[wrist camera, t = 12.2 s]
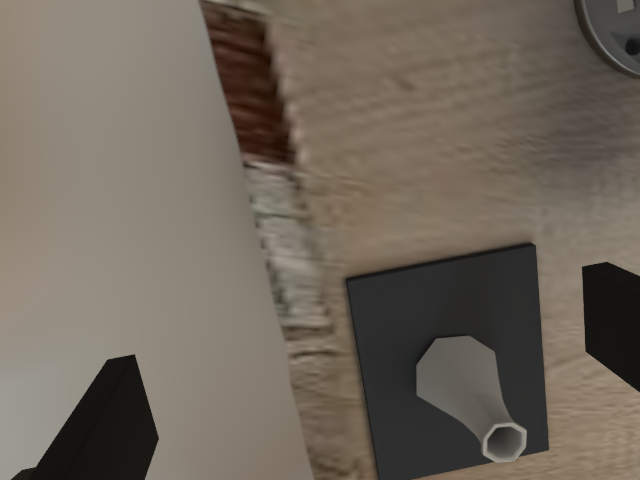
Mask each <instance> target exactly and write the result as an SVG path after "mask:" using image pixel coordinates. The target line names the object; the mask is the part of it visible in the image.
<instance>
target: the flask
mask: <svg viewBox="0 0 640 480" xmlns="http://www.w3.org/2000/svg"><path fill="white" fill-rule="evenodd" d="M416 372H417V396H419V397H420V398H422V399H424V400H425V401H427V402H429V403H431V404H432V405H434V406H436V407H437V408H439V409H441V410H443V411H444V412H446V413H448V414H449V415H451V416H453V417H454V418H456V419H457V420H459V421H461V422H462V423H463V424H464V425H465V426H466V427H468V428H469V429H470V430H471V431H472V432H473V433H474V434H475V435H476V437H477V438H478V440H479V441H480V443H481V452H482V454H483V455H484V456H486V457H488V458H489V459H491V460H493V461H495V462H496V463H501V462H510V461H515V460H516V459H517V458H518V456H519V455H520V454H521V453H522V451H523V450H524V449H525V448H526V438H527V430H526V429H525V428H523V427H522V426H520V425H519V424H517V423H515V422H514V421H513V420H512V418H511V417H510V416H509V413H508V411H507V409H506V406H505V404H504V402H503V399H502V394H501V388H500V383H499V378H498V371H497V363H496V357H495V352H494V351H493V350H491V349H489V348H488V347H486V346H485V345H483V344H482V343H480V342H478V341H477V340H475V339H474V338H472V337H471V336H459V337H448V338H437V339H435V341H434V342H433V344H432V345H431V346H430V348H429V349H428V350H427V352H426V353H425V354H424V356H423V357H422V358H421V360H420V361H419V362H418V364H417V365H416Z"/></svg>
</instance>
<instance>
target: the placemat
mask: <svg viewBox="0 0 640 480" xmlns="http://www.w3.org/2000/svg"><path fill="white" fill-rule="evenodd" d="M346 284H347V290H348V296H349V302H350V308H351V314H352V320H353V326H354V332H355V338H356V344H357V350H358V356H359V362H360V368H361V375H362V381H363V387H364V393H365V399H366V405H367V411H368V417H369V423H370V429H371V435H372V441H373V447H374V453H375V459H376V465H377V471H378V477H379V480H411V479H416V478H421V477H425V476H430V475H435V474H439V473H444V472H449V471H454V470H458V469H463V468H468V467H472V466H477V465H482V464H487V463H491V462H495V461H493V460H491V459H489V458H488V457H486V456H484V455H483V454H482V452H481V443H480V441H479V440H478V438H477V437H476V435H475V434H474V433H473V432H472V431H471V430H470V429H469V428H468V427H466V426H465V425H464V424H463V423H462V422H461V421H459V420H457V419H456V418H454V417H453V416H451V415H449V414H448V413H446V412H444V411H443V410H441V409H439V408H437V407H436V406H434V405H432V404H431V403H429V402H427V401H425V400H424V399H422V398H420V397H419V396H417V372H416V365H417V364H418V362H419V361H420V360H421V358H422V357H423V356H424V354H425V353H426V352H427V350H428V349H429V348H430V346H431V345H432V344H433V342H434V341H435V339H437V338H448V337H459V336H471V337H472V338H474V339H475V340H477V341H478V342H480V343H482V344H483V345H485V346H486V347H488V348H489V349H491V350H493V351H494V352H495V357H496V363H497V371H498V378H499V383H500V388H501V394H502V399H503V402H504V404H505V406H506V409H507V411H508V413H509V416H510V417H511V418H512V420H513V421H514V422H515V423H517V424H519V425H520V426H522V427H523V428H525V429H526V430H527V438H526V448H525V449H524V450H523V451H522V453H521V454H520V455H519V456H518V457H520V456H524V455H529V454H534V453H538V452H543V451H548V450H549V442H548V426H547V411H546V395H545V380H544V365H543V349H542V334H541V318H540V303H539V288H538V272H537V257H536V245H534V244H532V243H529V244H524V245H518V246H513V247H508V248H503V249H498V250H492V251H487V252H482V253H477V254H471V255H466V256H461V257H456V258H451V259H445V260H440V261H435V262H430V263H425V264H419V265H414V266H409V267H404V268H399V269H393V270H388V271H383V272H378V273H372V274H367V275H362V276H357V277H352V278H347V279H346Z"/></svg>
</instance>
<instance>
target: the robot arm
mask: <svg viewBox="0 0 640 480" xmlns="http://www.w3.org/2000/svg"><path fill="white" fill-rule="evenodd" d="M574 4H575V10H576V14H577V18H578V21H579V24H580V27H581V29H582V32H583V34H584V36H585V38H586V40H587V41H588V43H589V44H590V46H591V47H592V49H593V50H594V51H595V52H596V54H597V55H598V56H599V57H600V58H601V59H602V60H603V61H604V62H606V63H607V64H608V65H609V66H611V67H612V68H614V69H616V70H617V71H619V72H621V73H623V74H625V75H628V76H631V77H634V78H639V79H640V0H574ZM582 277H583V301H584V324H585V348H586V352H587V353H588V354H590V355H591V356H592V357H594V358H595V359H596V360H598V361H599V362H600V363H602V364H603V365H604V366H606V367H607V368H608V369H610V370H611V371H612V372H614V373H615V374H616V375H618V376H619V377H620V378H621V379H623V380H624V381H625V382H627V383H628V384H629V385H631V386H632V387H633V388H635V389H636V390H637V391H639V392H640V276H638V275H636V274H633V273H631V272H629V271H627V270H624V269H622V268H620V267H617V266H615V265H613V264H611V263H608V262H604V263H599V264H594V265H589V266H584V267H582ZM158 440H159V437H158V434H157V431H156V427H155V423H154V420H153V417H152V413H151V409H150V406H149V402H148V399H147V396H146V392H145V388H144V385H143V382H142V378H141V375H140V371H139V368H138V364H137V361H136V357H135V355H129V356H124V357H119V358H114V359H109V360H107V361H106V363H105V364H104V366H103V367H102V369H101V370H100V372H99V373H98V375H97V376H96V378H95V379H94V381H93V382H92V384H91V385H90V387H89V388H88V390H87V391H86V393H85V394H84V396H83V397H82V399H81V400H80V402H79V403H78V405H77V406H76V408H75V409H74V411H73V412H72V414H71V415H70V417H69V418H68V420H67V421H66V423H65V424H64V426H63V427H62V429H61V430H60V432H59V433H58V435H57V436H56V438H55V439H54V441H53V442H52V444H51V445H50V447H49V448H48V450H47V451H46V453H45V454H44V456H43V457H42V459H41V460H40V462H39V463H38V465H37V466H36V467H35V468H29V469H25V470H22V471H20V472H19V473H18V474H17V475H16V476H15V477H13V478H12V479H11V480H145V477H146V474H147V471H148V468H149V466H150V463H151V460H152V457H153V454H154V451H155V448H156V445H157V442H158Z"/></svg>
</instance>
